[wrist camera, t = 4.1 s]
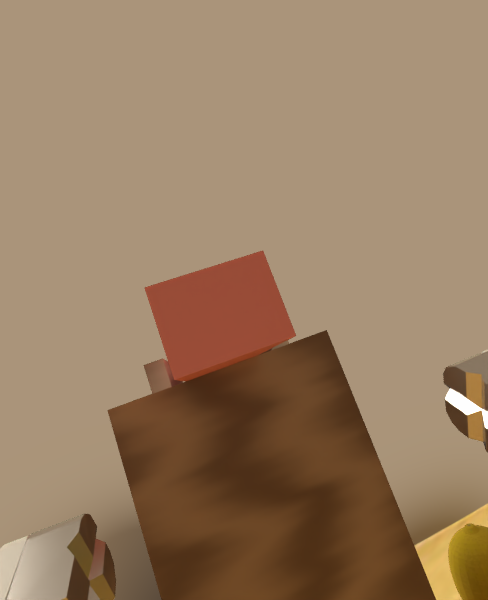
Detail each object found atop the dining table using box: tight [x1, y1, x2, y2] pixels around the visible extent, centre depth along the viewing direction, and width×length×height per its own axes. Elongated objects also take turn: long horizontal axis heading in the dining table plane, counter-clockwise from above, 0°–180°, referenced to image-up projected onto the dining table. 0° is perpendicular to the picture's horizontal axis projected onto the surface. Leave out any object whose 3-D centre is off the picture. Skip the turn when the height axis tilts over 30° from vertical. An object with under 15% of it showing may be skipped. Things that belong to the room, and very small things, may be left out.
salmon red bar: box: [145, 251, 296, 381], centre depth 22 cm, size 4×22×3 cm, turn 7°
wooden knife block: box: [108, 330, 436, 600], centre depth 23 cm, size 12×12×28 cm
